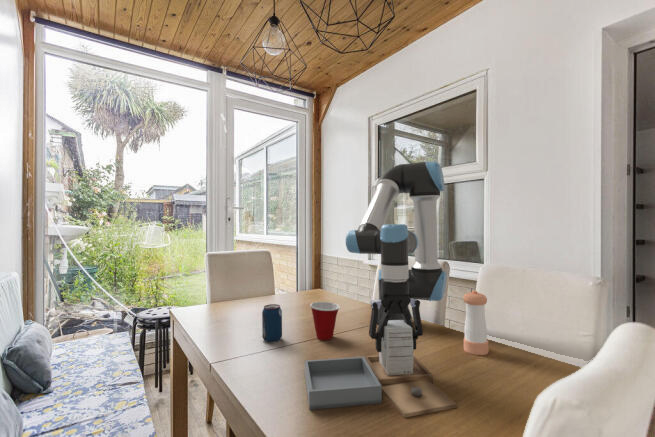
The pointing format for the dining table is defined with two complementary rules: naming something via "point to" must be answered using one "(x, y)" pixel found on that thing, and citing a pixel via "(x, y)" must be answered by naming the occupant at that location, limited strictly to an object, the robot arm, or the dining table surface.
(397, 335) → the supplement box
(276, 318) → the soda can
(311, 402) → the gray square tray
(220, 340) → the dining table surface
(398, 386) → the tray lid
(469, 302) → the pepper shaker
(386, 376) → the walnut tray
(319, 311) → the plastic cup
